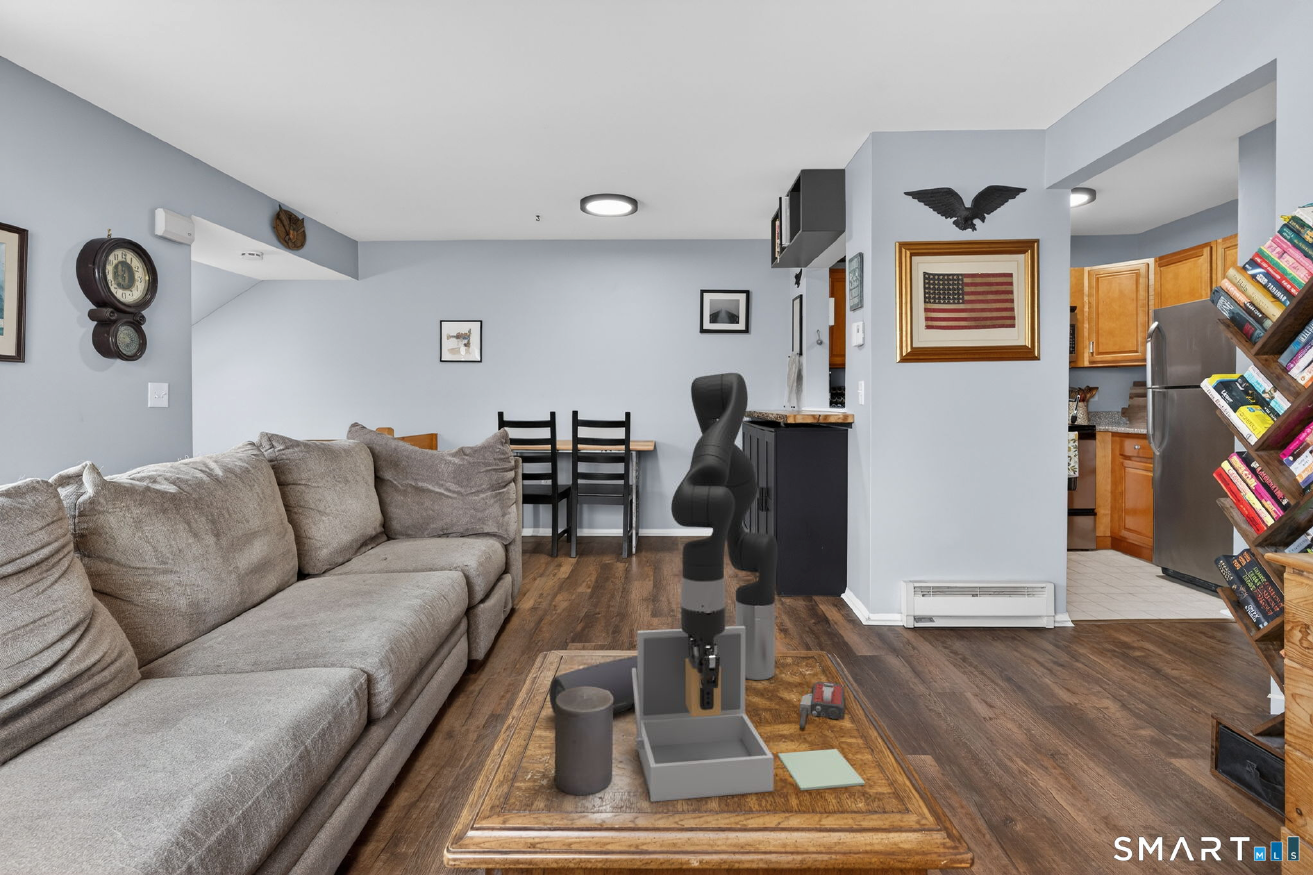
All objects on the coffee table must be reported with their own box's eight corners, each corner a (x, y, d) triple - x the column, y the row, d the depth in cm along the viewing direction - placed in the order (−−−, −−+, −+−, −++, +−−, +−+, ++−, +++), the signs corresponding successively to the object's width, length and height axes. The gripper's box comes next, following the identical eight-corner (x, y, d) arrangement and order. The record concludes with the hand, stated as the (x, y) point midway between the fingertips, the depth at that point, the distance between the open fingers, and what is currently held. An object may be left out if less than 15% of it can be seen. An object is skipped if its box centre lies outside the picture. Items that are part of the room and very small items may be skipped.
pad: (778, 755, 116) (778, 753, 116) (836, 751, 117) (836, 748, 117) (801, 790, 105) (801, 787, 105) (865, 784, 107) (865, 782, 107)
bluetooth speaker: (642, 690, 144) (642, 645, 144) (666, 705, 136) (666, 658, 136) (547, 716, 131) (547, 667, 131) (568, 734, 123) (568, 682, 123)
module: (685, 703, 113) (685, 656, 113) (713, 701, 114) (713, 655, 113) (691, 716, 108) (691, 667, 108) (720, 714, 109) (720, 665, 109)
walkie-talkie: (804, 691, 145) (796, 732, 125) (804, 671, 144) (796, 709, 125) (845, 696, 142) (843, 739, 123) (845, 676, 142) (843, 716, 123)
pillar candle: (542, 779, 108) (542, 690, 107) (586, 757, 115) (587, 673, 114) (580, 803, 101) (581, 709, 101) (625, 778, 108) (626, 690, 108)
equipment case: (630, 746, 119) (630, 630, 118) (742, 738, 122) (743, 624, 122) (643, 802, 101) (643, 666, 101) (773, 790, 105) (774, 658, 104)
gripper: (673, 592, 117) (673, 685, 117) (690, 616, 103) (690, 722, 103) (714, 590, 118) (714, 683, 119) (736, 614, 104) (735, 719, 104)
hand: (702, 700), depth 111 cm, fingers closed on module, 5 cm apart
